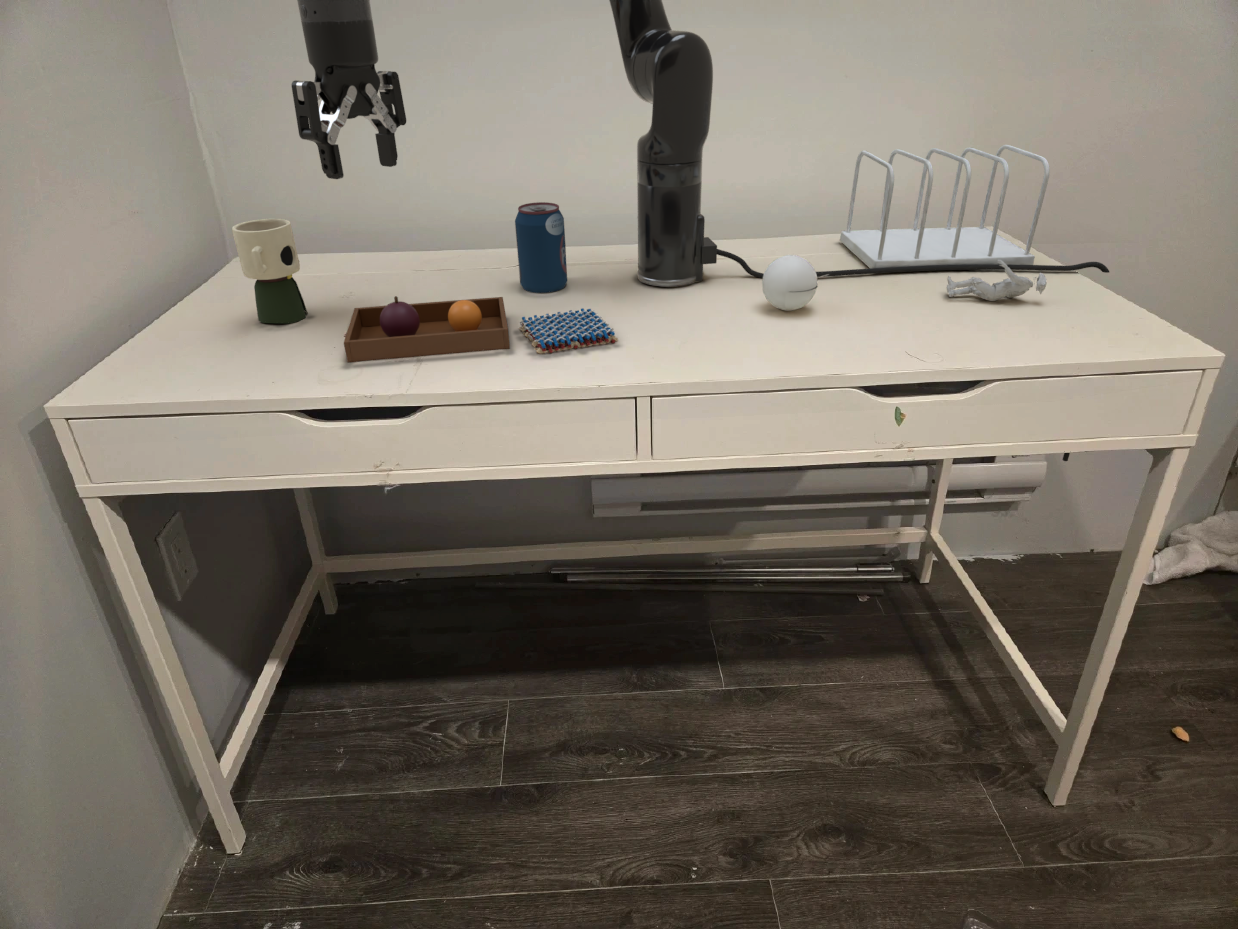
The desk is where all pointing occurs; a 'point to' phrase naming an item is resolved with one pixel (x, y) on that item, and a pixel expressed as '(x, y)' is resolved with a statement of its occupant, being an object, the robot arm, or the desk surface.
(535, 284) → the soda can
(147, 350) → the desk surface
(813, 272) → the seamed sphere
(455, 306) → the apricot
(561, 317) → the woven mat
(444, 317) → the tray
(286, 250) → the character mug
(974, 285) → the soldier figure
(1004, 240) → the file sorter
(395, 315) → the plum
